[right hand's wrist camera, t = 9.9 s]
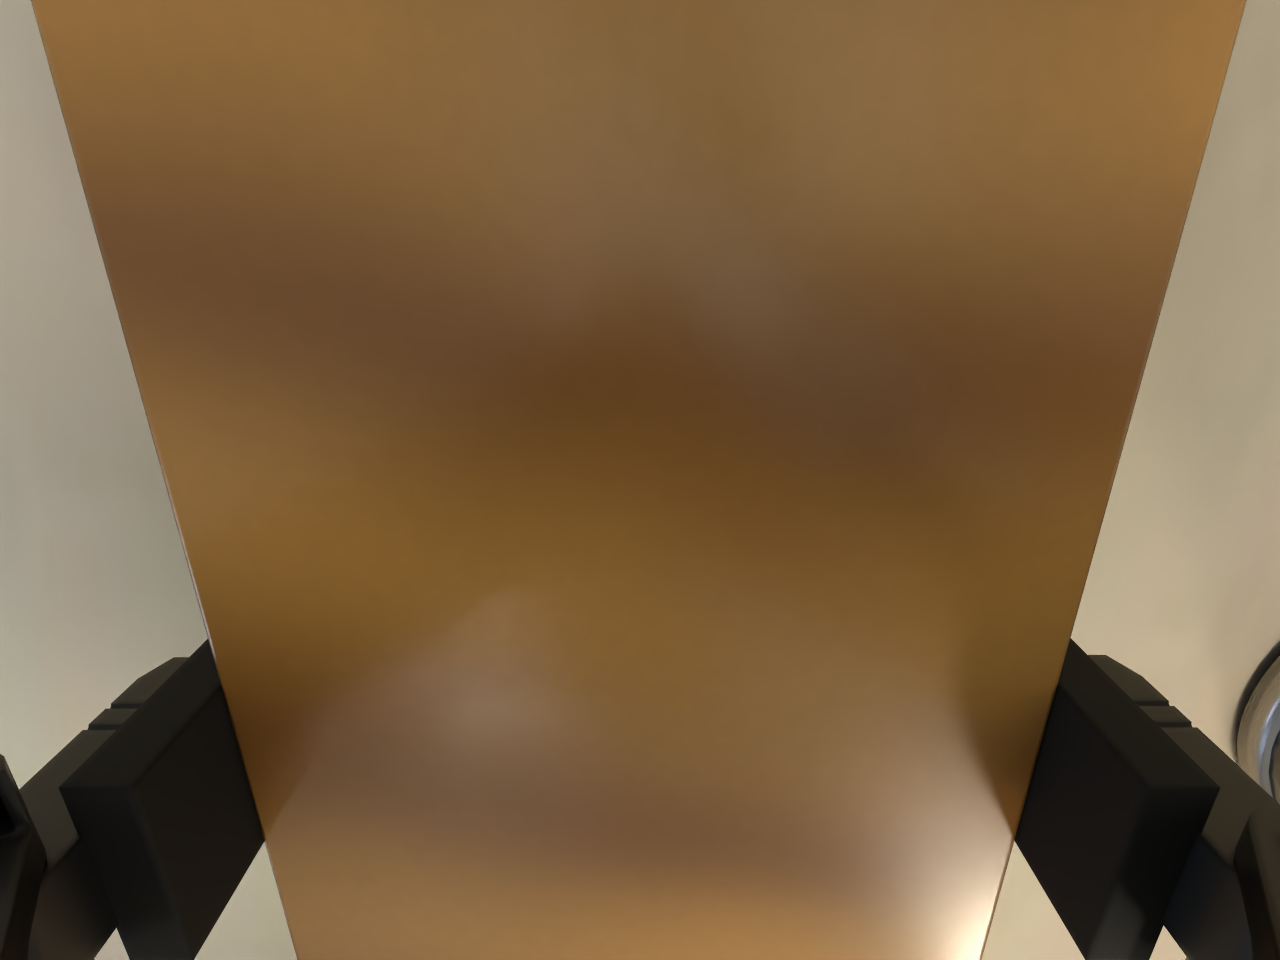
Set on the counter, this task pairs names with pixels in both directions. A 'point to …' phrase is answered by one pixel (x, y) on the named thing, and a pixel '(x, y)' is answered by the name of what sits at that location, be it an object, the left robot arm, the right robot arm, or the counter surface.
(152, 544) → the counter surface
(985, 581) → the cabinet
